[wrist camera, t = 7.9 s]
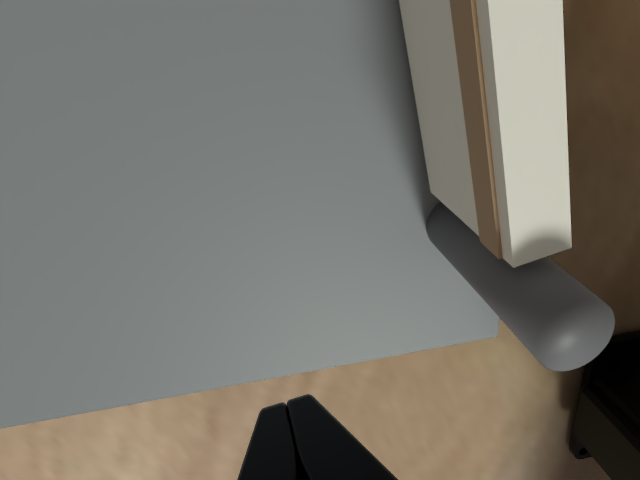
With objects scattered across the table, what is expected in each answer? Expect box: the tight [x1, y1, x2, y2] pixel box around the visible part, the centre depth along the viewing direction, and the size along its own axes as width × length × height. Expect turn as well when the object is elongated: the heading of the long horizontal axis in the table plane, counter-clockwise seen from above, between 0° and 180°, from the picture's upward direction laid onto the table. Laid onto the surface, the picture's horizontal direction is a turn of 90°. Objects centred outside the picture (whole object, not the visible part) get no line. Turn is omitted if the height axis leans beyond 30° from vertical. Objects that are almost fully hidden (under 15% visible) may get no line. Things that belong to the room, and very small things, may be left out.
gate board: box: [0, 0, 615, 429], centre depth 12 cm, size 20×22×8 cm
